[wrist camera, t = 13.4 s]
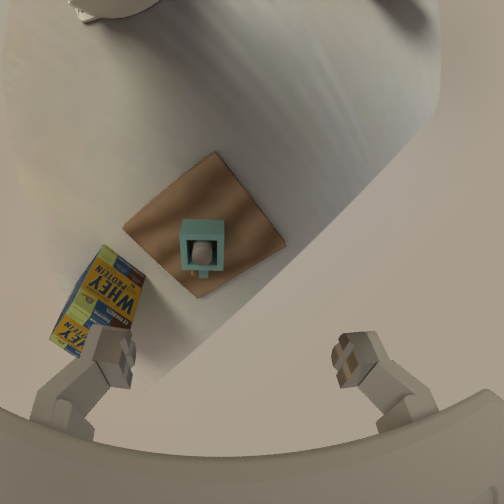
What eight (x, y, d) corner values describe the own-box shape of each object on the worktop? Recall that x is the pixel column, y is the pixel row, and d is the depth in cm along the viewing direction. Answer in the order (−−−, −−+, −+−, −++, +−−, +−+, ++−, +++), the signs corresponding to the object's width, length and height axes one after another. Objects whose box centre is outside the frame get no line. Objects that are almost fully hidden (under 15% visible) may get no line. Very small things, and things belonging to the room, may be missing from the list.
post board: (124, 224, 43) (110, 248, 37) (215, 151, 38) (213, 164, 32) (198, 294, 54) (196, 321, 48) (284, 241, 49) (293, 266, 43)
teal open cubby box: (182, 219, 43) (179, 234, 39) (224, 219, 44) (224, 234, 40) (186, 270, 49) (183, 287, 45) (222, 271, 49) (222, 288, 46)
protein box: (147, 274, 50) (129, 338, 37) (111, 311, 55) (93, 368, 42) (104, 242, 45) (72, 301, 32) (73, 285, 50) (47, 340, 37)
